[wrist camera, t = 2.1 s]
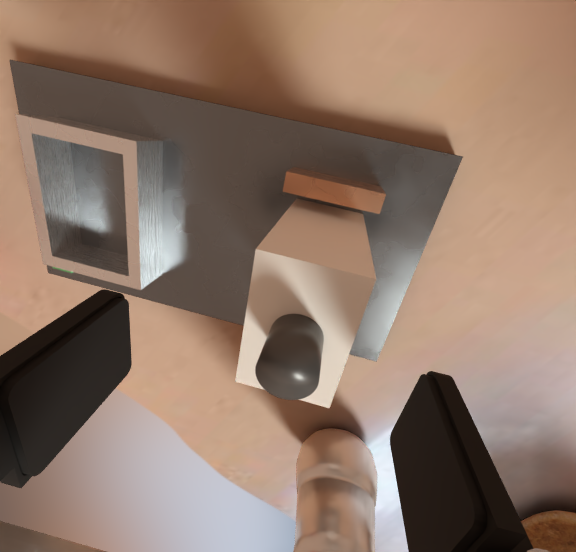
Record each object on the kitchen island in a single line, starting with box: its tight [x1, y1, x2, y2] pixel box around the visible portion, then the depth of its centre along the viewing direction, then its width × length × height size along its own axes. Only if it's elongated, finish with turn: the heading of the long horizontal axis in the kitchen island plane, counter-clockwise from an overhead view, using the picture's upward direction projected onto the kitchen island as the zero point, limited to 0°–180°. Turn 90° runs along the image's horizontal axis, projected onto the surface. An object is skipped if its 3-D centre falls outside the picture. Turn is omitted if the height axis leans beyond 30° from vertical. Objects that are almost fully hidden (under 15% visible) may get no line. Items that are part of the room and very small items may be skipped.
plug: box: [235, 199, 376, 408], centre depth 14 cm, size 4×6×11 cm, turn 169°
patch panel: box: [10, 60, 463, 362], centre depth 19 cm, size 26×14×4 cm, turn 79°
